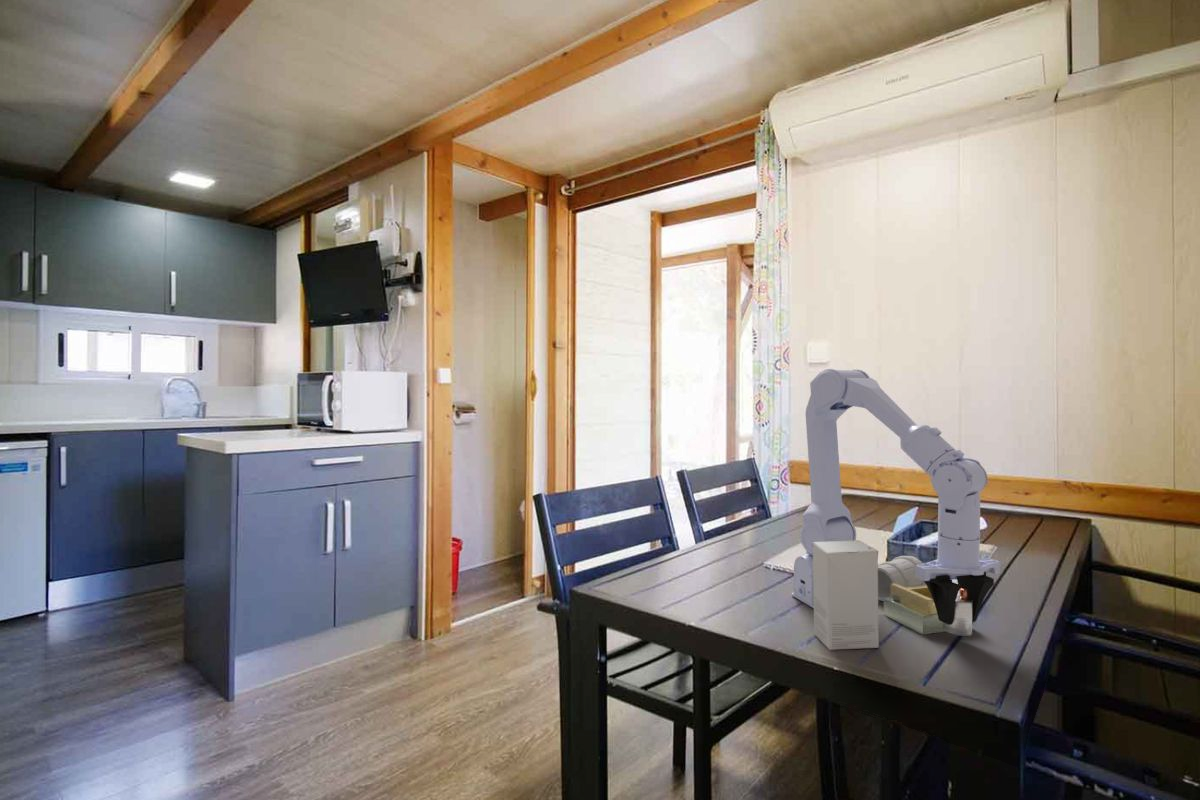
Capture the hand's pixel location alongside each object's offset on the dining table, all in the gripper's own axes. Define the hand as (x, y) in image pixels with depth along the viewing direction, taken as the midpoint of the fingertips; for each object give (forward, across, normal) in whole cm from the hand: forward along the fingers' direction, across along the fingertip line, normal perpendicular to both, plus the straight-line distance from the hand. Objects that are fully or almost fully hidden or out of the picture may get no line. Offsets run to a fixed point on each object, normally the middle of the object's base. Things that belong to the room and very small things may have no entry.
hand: (957, 620), depth 95 cm
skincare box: (+4, -17, +5) cm, 18 cm away
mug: (0, +10, +22) cm, 25 cm away
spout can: (+2, 0, 0) cm, 2 cm away
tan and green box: (+3, +2, +8) cm, 9 cm away
